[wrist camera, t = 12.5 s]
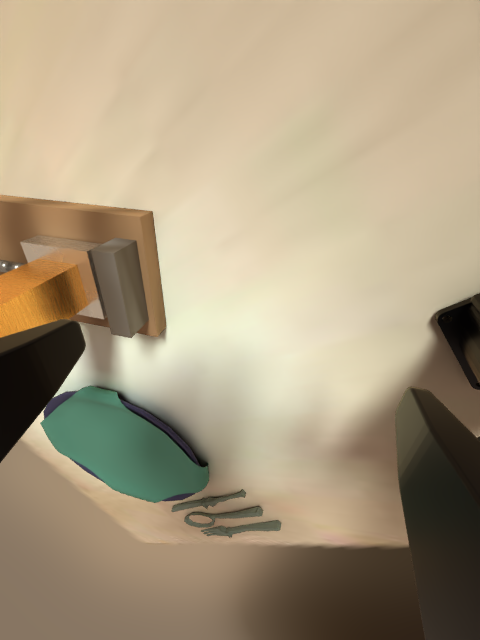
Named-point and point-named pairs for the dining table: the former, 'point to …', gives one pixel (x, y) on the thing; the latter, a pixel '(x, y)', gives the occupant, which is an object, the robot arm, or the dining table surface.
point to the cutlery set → (135, 454)
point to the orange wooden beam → (49, 284)
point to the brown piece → (97, 255)
